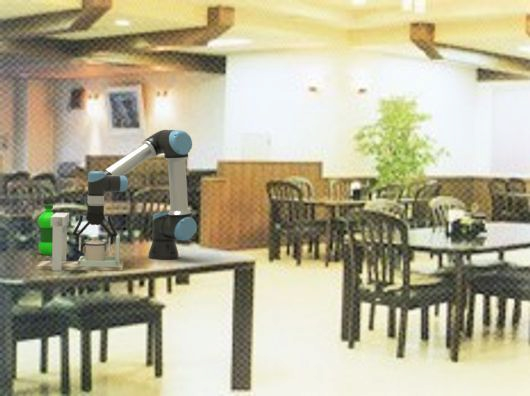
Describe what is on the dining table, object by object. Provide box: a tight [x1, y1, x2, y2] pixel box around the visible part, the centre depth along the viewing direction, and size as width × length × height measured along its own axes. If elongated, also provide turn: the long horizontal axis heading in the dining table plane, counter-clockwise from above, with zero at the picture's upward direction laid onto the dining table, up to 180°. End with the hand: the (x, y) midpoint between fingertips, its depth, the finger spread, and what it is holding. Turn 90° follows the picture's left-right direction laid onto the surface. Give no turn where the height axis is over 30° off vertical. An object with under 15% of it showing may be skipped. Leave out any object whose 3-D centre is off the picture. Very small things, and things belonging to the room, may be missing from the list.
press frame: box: [51, 212, 70, 272], centre depth 432 cm, size 6×24×24 cm, turn 7°
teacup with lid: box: [82, 236, 106, 261], centre depth 435 cm, size 12×9×12 cm
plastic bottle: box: [37, 204, 55, 256], centre depth 475 cm, size 10×10×25 cm
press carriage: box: [77, 232, 121, 267], centre depth 435 cm, size 18×17×14 cm
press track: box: [36, 260, 125, 272], centre depth 434 cm, size 38×17×2 cm, turn 97°
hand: (94, 250), depth 435 cm, fingers open, 13 cm apart
